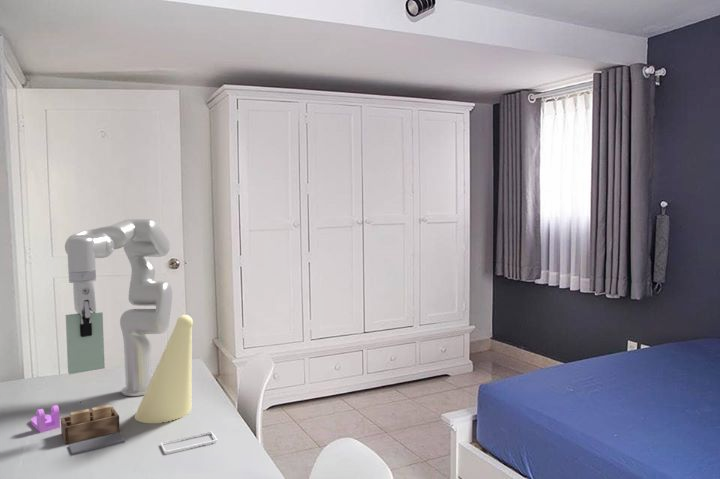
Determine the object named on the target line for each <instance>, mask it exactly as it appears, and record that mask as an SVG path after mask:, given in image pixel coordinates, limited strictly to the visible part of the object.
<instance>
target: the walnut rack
mask: <svg viewBox="0 0 720 479" xmlns="http://www.w3.org/2000/svg"><path fill="white" fill-rule="evenodd" d="M120 426H121V425H120V415H119V414H118V412H117V411H116V409H115V408H114V407H113V406H111V417H107V418H103V419H98V420H94V421H92V411H90V421H89V422H85V423H80V424H76V425H71V419H70V415H69V416H63V417H60V431H61V432H60V433H61V435H62V438H63V441H64V444H65V445H69V444H73V443H77V442H81V441H86V440H90V439H94V438H98V437H102V436H106V435H111V434H115V433H119V432H121V429H120V428H121V427H120Z"/></svg>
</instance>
